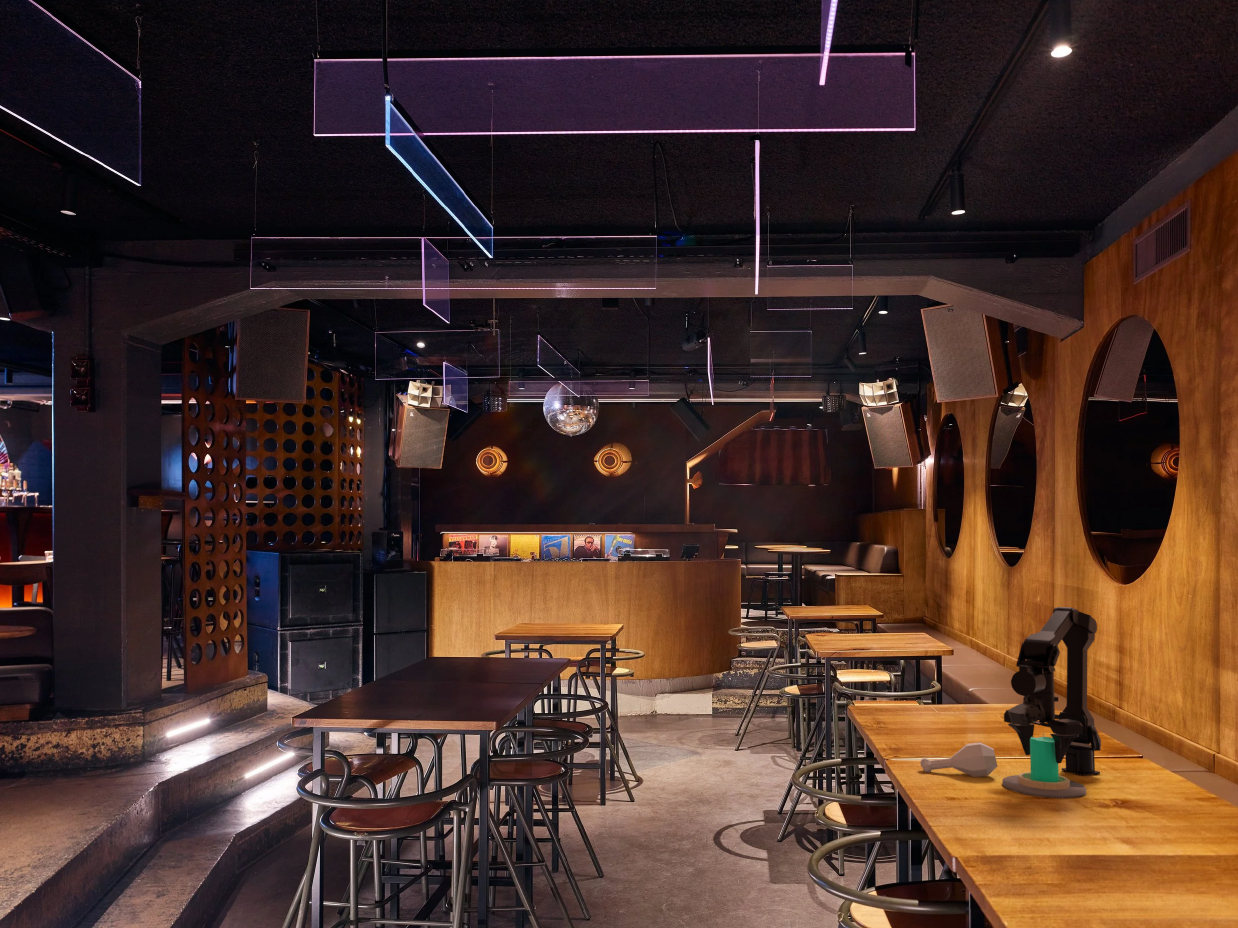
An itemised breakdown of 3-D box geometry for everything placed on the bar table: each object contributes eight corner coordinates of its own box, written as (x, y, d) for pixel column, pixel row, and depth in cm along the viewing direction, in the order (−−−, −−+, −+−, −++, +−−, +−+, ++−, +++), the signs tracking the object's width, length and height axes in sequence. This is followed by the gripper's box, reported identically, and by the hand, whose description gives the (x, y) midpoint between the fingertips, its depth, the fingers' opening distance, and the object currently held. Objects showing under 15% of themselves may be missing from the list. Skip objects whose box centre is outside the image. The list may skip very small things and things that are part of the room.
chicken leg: (923, 770, 243) (916, 742, 241) (996, 761, 238) (989, 733, 236) (925, 790, 236) (918, 762, 234) (1001, 782, 230) (994, 753, 228)
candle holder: (1042, 776, 234) (1041, 766, 234) (1104, 794, 217) (1103, 783, 218) (985, 782, 227) (985, 771, 227) (1045, 801, 210) (1045, 789, 211)
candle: (1057, 782, 224) (1056, 731, 225) (1059, 788, 218) (1058, 735, 219) (1030, 780, 226) (1029, 728, 227) (1031, 785, 220) (1030, 733, 221)
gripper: (985, 687, 230) (987, 753, 228) (1046, 699, 213) (1049, 770, 211) (1020, 685, 234) (1022, 750, 233) (1083, 697, 217) (1085, 766, 215)
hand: (1042, 759), depth 223 cm, fingers open, 9 cm apart
